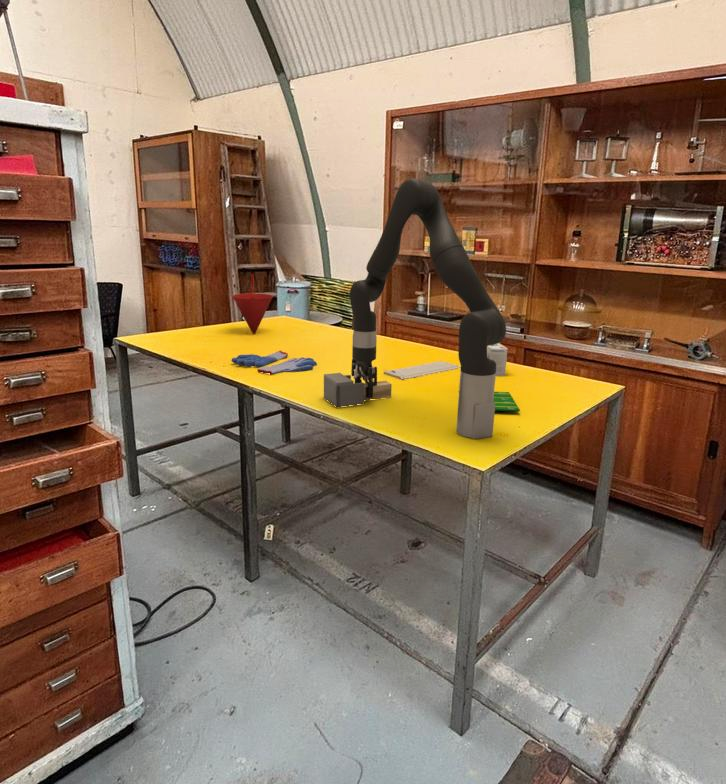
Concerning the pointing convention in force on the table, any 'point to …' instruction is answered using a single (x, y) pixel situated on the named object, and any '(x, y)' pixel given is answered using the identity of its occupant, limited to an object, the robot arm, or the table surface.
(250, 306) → the fire bucket
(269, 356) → the pair of gloves
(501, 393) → the electronic board model
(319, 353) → the table surface
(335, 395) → the end cap
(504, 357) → the light bulb box
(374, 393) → the slat
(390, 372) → the baseboard molding
